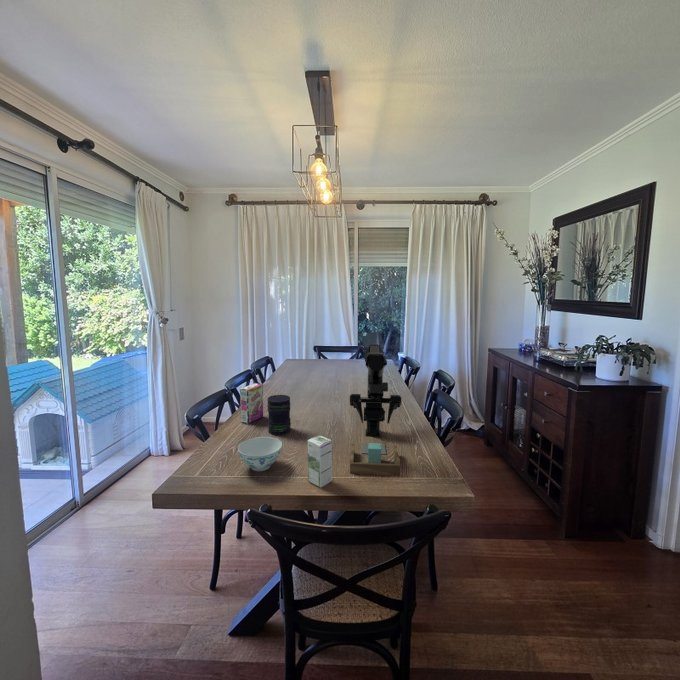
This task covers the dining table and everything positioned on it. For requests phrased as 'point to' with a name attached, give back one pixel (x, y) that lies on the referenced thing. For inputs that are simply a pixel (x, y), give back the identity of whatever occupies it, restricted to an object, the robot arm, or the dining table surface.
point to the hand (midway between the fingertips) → (375, 423)
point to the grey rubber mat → (365, 448)
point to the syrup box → (319, 461)
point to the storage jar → (279, 414)
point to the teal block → (374, 453)
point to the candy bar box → (251, 403)
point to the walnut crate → (375, 466)
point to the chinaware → (260, 452)
